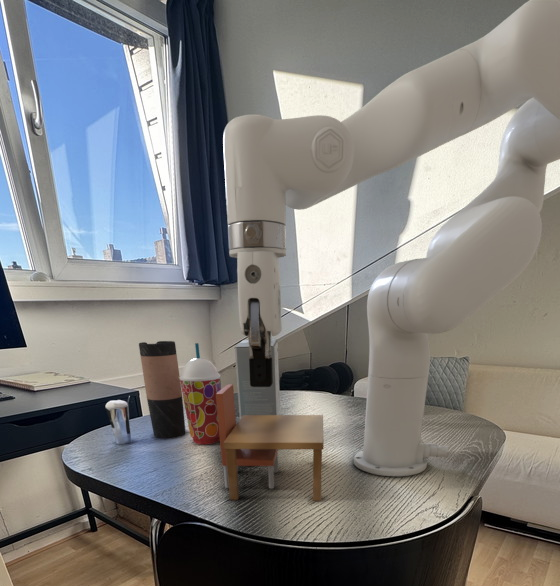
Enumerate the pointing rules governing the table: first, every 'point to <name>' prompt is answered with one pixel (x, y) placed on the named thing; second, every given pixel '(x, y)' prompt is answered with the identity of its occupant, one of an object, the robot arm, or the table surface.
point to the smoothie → (201, 398)
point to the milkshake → (119, 420)
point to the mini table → (276, 442)
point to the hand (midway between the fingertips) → (261, 385)
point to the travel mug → (163, 388)
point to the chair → (242, 455)
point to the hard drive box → (256, 397)
